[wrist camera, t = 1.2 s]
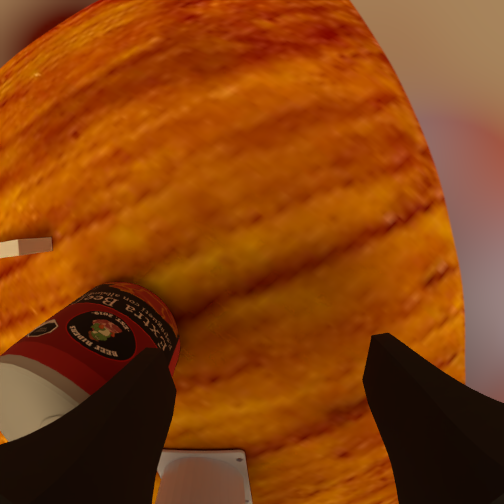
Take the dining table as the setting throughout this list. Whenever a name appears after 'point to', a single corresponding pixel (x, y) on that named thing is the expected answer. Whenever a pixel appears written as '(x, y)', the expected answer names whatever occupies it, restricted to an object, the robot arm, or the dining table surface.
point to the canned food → (80, 354)
